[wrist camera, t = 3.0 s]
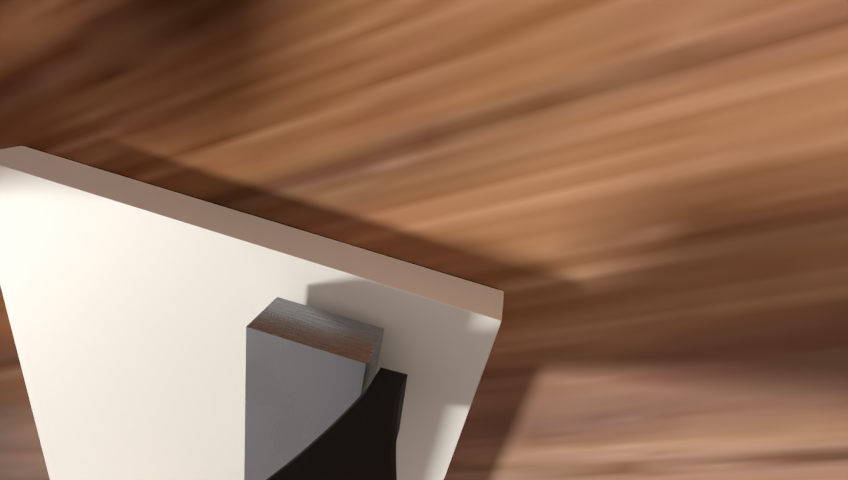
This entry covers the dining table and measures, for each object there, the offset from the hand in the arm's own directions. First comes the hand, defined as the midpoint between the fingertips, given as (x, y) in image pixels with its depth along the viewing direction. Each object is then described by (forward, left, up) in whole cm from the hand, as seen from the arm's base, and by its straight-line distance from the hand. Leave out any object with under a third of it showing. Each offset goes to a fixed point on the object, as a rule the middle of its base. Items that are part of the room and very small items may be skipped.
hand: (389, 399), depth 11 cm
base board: (-6, +6, -2) cm, 9 cm away
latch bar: (-4, +2, 0) cm, 5 cm away
